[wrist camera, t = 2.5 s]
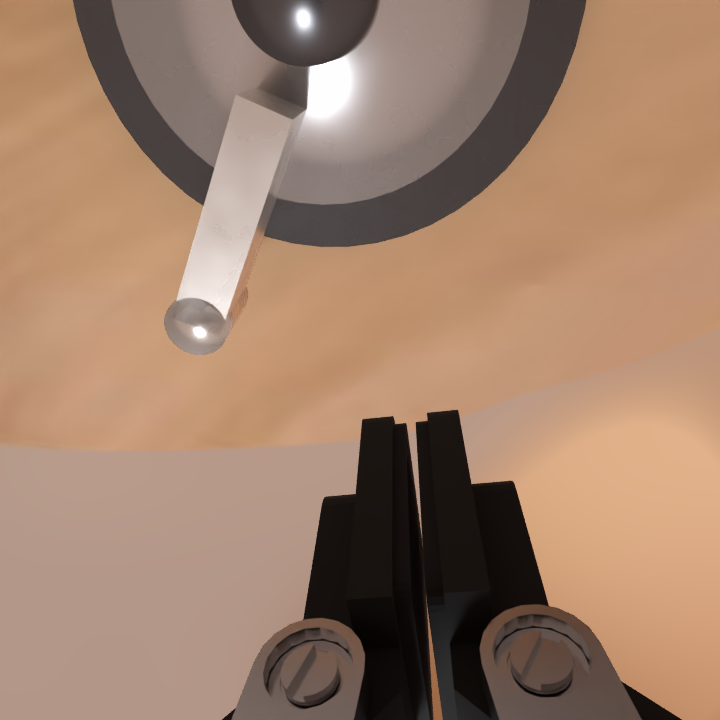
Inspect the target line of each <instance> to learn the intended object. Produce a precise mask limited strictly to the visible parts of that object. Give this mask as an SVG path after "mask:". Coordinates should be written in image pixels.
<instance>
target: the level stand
mask: <svg viewBox="0 0 720 720" xmlns="http://www.w3.org/2000/svg"><path fill="white" fill-rule="evenodd" d="M73 2H74V7H75V12H76V17H77V22H78V25H79V28H80V31H81V34H82V37H83V40H84V44H85V47H86V50H87V53H88V56H89V59H90V61H91V63H92V66H93V68H94V70H95V72H96V75H97V77H98V79H99V81H100V84H101V86H102V88H103V91H104V92H105V94H106V96H107V98H108V99H109V101H110V103H111V105H112V106H113V108H114V110H115V112H116V113H117V115H118V117H119V119H120V120H121V122H122V123H123V125H124V126H125V128H126V129H127V130H128V132H129V133H130V134H131V136H132V137H133V139H134V140H135V141H136V143H137V144H138V145H139V147H140V148H141V149H142V151H143V152H144V153H145V154H146V155H147V156H148V157H149V158H150V159H151V161H152V162H153V163H154V164H155V165H156V166H157V167H158V168H159V169H160V170H161V172H162V173H163V174H164V175H166V176H167V177H168V178H169V179H170V180H171V181H172V182H173V183H175V184H176V185H177V186H178V187H179V188H180V189H181V190H183V191H184V192H185V193H186V194H187V195H189V196H190V197H191V198H193V199H194V200H196V201H197V202H199V203H200V204H202V205H203V206H204V203H205V199H206V196H207V192H208V189H209V185H210V182H211V179H212V175H213V172H214V167H212V166H211V165H209V164H208V163H207V162H206V161H204V160H203V159H202V158H201V157H200V156H198V155H197V154H196V153H195V152H194V151H193V150H191V149H190V148H189V147H188V146H187V145H186V144H185V143H184V142H183V141H182V140H181V138H180V137H179V136H178V135H177V134H176V133H175V132H174V131H173V130H172V129H171V128H170V127H169V125H168V124H167V123H166V121H165V120H164V119H163V117H162V116H161V115H160V113H159V112H158V111H157V109H156V108H155V107H154V105H153V104H152V102H151V100H150V98H149V97H148V95H147V93H146V92H145V90H144V88H143V87H142V85H141V83H140V82H139V80H138V78H137V75H136V73H135V71H134V69H133V67H132V64H131V62H130V60H129V58H128V56H127V54H126V51H125V48H124V45H123V42H122V39H121V36H120V33H119V30H118V27H117V24H116V19H115V15H114V10H113V6H112V1H111V0H73ZM585 4H586V0H530V3H529V9H528V15H527V21H526V25H525V29H524V32H523V36H522V39H521V43H520V46H519V50H518V53H517V56H516V58H515V61H514V63H513V65H512V68H511V70H510V73H509V75H508V77H507V80H506V82H505V84H504V86H503V87H502V89H501V91H500V93H499V95H498V96H497V98H496V100H495V102H494V104H493V105H492V107H491V109H490V110H489V111H488V113H487V114H486V116H485V117H484V118H483V120H482V121H481V123H480V124H479V125H478V127H477V128H476V129H475V131H474V132H473V133H472V134H471V135H470V136H469V137H468V138H467V139H466V140H465V142H464V143H463V144H462V145H461V146H460V147H459V148H458V149H457V150H456V151H455V152H454V153H453V154H451V155H450V156H449V157H448V158H447V159H445V160H444V161H443V162H442V163H441V164H440V165H438V166H437V167H436V168H434V169H433V170H431V171H430V172H428V173H427V174H425V175H424V176H422V177H420V178H419V179H417V180H416V181H414V182H412V183H410V184H408V185H406V186H404V187H401V188H399V189H397V190H395V191H393V192H390V193H387V194H384V195H381V196H378V197H375V198H372V199H368V200H362V201H357V202H352V203H345V204H326V205H321V204H308V203H298V202H293V201H289V200H284V199H279V198H277V199H276V202H275V205H274V208H273V211H272V213H271V216H270V219H269V222H268V225H267V228H266V231H265V234H264V236H266V237H270V238H274V239H278V240H282V241H286V242H290V243H295V244H303V245H311V246H319V247H349V246H357V245H364V244H372V243H378V242H382V241H386V240H389V239H393V238H397V237H401V236H404V235H407V234H409V233H412V232H414V231H417V230H419V229H422V228H424V227H426V226H429V225H431V224H433V223H435V222H437V221H438V220H440V219H442V218H444V217H446V216H447V215H449V214H451V213H453V212H454V211H456V210H458V209H459V208H461V207H462V206H463V205H465V204H466V203H467V202H469V201H470V200H471V199H473V198H474V197H475V196H477V195H478V194H480V193H481V192H482V191H483V190H484V189H485V188H487V187H488V186H489V185H490V184H491V183H492V182H493V181H494V180H495V179H496V178H497V177H498V176H499V175H500V174H501V173H502V172H503V171H504V170H506V168H507V167H508V166H509V165H510V164H511V162H512V161H513V160H514V159H515V158H516V156H517V155H518V154H519V153H520V152H521V150H522V149H523V148H524V147H525V146H526V144H527V143H528V142H529V140H530V138H531V137H532V135H533V134H534V132H535V131H536V129H537V128H538V126H539V125H540V123H541V122H542V120H543V119H544V117H545V116H546V114H547V112H548V110H549V108H550V106H551V104H552V102H553V100H554V98H555V96H556V94H557V92H558V90H559V88H560V86H561V84H562V82H563V79H564V76H565V74H566V71H567V68H568V66H569V63H570V60H571V57H572V55H573V52H574V49H575V47H576V43H577V39H578V34H579V30H580V26H581V22H582V18H583V14H584V10H585Z"/></svg>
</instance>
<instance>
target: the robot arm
mask: <svg viewBox="0 0 720 720" xmlns="http://www.w3.org/2000/svg"><path fill="white" fill-rule="evenodd" d="M427 417H428V421H423V422H416V436H417V453H418V470H419V488H420V503H421V522H422V535H421V529H420V521H419V513H418V506H417V500H416V499H417V498H416V491H415V484H414V476H413V469H412V461H411V454H410V446H409V439H408V431H407V425H406V423H403V424H395V421H394V417H393V416H391V417H381V418H371V419H363V420H362V429H361V440H360V452H359V464H358V474H357V486H356V494H353V495H341V496H328V497H325V498H324V499H323V503H322V508H321V514H320V520H319V526H318V532H317V539H316V545H315V551H314V557H313V564H312V570H311V576H310V582H309V588H308V594H307V601H306V607H305V613H304V619H303V620H302V621H299V622H296V623H293V624H290V625H288V626H287V627H285V628H283V629H282V630H280V631H279V632H277V633H275V634H274V635H273V636H272V638H270V639H269V640H268V641H267V642H266V643H265V644H264V645H263V647H262V649H261V650H260V652H259V654H258V656H257V657H256V659H255V661H254V663H253V666H252V668H251V671H250V673H249V676H248V679H247V681H246V684H245V686H244V689H243V691H242V694H241V696H240V699H239V702H238V704H237V707H236V708H235V709H234V710H233V711H232V712H231V713H229V714H228V715H227V716H226V717H225V718H223V719H222V720H433V705H432V688H431V673H430V672H431V671H430V654H429V638H428V620H427V606H428V614H429V621H430V629H431V636H432V643H433V650H434V657H435V665H436V672H437V679H438V687H439V694H440V701H441V708H442V716H443V720H681V719H680V718H678V717H677V716H675V715H674V714H672V713H670V712H669V711H667V710H666V709H664V708H662V707H661V706H659V705H658V704H656V703H655V702H653V701H652V700H650V699H648V698H647V697H645V696H644V695H642V694H640V693H639V692H637V691H636V690H634V689H632V688H631V687H629V686H628V685H626V684H625V683H623V682H622V681H621V680H620V678H619V676H618V675H617V673H616V671H615V669H614V667H613V665H612V663H611V661H610V660H609V658H608V656H607V654H606V652H605V650H604V648H603V647H602V645H601V643H600V641H599V640H598V639H597V637H596V636H595V634H594V633H593V632H592V630H591V629H590V628H589V627H588V626H587V625H586V624H584V623H583V622H582V621H581V620H579V619H578V618H577V617H575V616H574V615H572V614H570V613H567V612H565V611H563V610H561V609H558V608H555V607H550V606H549V605H548V602H547V598H546V594H545V591H544V587H543V583H542V580H541V576H540V573H539V569H538V566H537V562H536V559H535V555H534V551H533V548H532V544H531V541H530V537H529V534H528V530H527V527H526V523H525V519H524V516H523V512H522V509H521V505H520V501H519V498H518V494H517V491H516V488H515V485H514V482H513V481H504V482H492V483H480V484H471V479H470V474H469V468H468V463H467V457H466V452H465V446H464V441H463V435H462V429H461V424H460V418H459V413H458V410H451V411H441V412H431V413H427ZM422 537H423V538H422ZM422 539H423V544H422ZM426 597H427V602H426Z"/></svg>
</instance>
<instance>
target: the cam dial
mask: <svg viewBox="0 0 720 720" xmlns="http://www.w3.org/2000/svg"><path fill="white" fill-rule="evenodd" d="M111 1H112V6H113V10H114V15H115V19H116V24H117V27H118V30H119V33H120V36H121V39H122V42H123V45H124V48H125V51H126V54H127V56H128V58H129V60H130V62H131V64H132V67H133V69H134V71H135V73H136V75H137V78H138V80H139V82H140V83H141V85H142V87H143V88H144V90H145V92H146V93H147V95H148V97H149V98H150V100H151V102H152V104H153V105H154V107H155V108H156V109H157V111H158V112H159V113H160V115H161V116H162V117H163V119H164V120H165V121H166V123H167V124H168V125H169V127H170V128H171V129H172V130H173V131H174V132H175V133H176V134H177V135H178V136H179V137H180V138H181V140H182V141H183V142H184V143H185V144H186V145H187V146H188V147H189V148H190V149H191V150H193V151H194V152H195V153H196V154H197V155H198V156H200V157H201V158H202V159H203V160H204V161H206V162H207V163H208V164H209V165H211V166H212V167H214V172H213V175H212V179H211V182H210V185H209V189H208V192H207V196H206V199H205V203H204V206H203V210H202V213H201V217H200V220H199V224H198V227H197V230H196V234H195V237H194V241H193V244H192V248H191V251H190V255H189V258H188V262H187V265H186V269H185V272H184V276H183V279H182V282H181V286H180V289H179V293H178V296H177V299H176V300H175V301H174V302H173V303H172V305H171V306H170V307H169V308H168V310H167V312H166V315H165V319H164V324H165V330H166V332H167V335H168V336H169V338H170V340H171V341H172V342H173V343H174V344H175V345H176V346H177V347H179V348H180V349H181V350H183V351H185V352H188V353H191V354H195V355H206V354H210V353H213V352H215V351H216V350H218V349H219V348H220V347H221V346H222V345H223V343H224V342H225V340H226V338H227V336H228V335H229V333H230V331H231V329H232V328H233V326H234V324H235V323H236V321H237V319H238V317H239V316H240V314H241V312H242V310H243V309H244V307H245V305H246V303H247V299H248V290H247V287H246V286H247V283H248V280H249V277H250V274H251V271H252V268H253V266H254V263H255V260H256V257H257V254H258V251H259V248H260V245H261V242H262V239H263V237H264V234H265V231H266V228H267V225H268V222H269V219H270V216H271V213H272V211H273V208H274V205H275V202H276V199H277V198H279V199H284V200H289V201H293V202H298V203H308V204H321V205H326V204H345V203H352V202H357V201H362V200H368V199H372V198H375V197H378V196H381V195H384V194H387V193H390V192H393V191H395V190H397V189H399V188H401V187H404V186H406V185H408V184H410V183H412V182H414V181H416V180H417V179H419V178H420V177H422V176H424V175H425V174H427V173H428V172H430V171H431V170H433V169H434V168H436V167H437V166H438V165H440V164H441V163H442V162H443V161H444V160H445V159H447V158H448V157H449V156H450V155H451V154H453V153H454V152H455V151H456V150H457V149H458V148H459V147H460V146H461V145H462V144H463V143H464V142H465V140H466V139H467V138H468V137H469V136H470V135H471V134H472V133H473V132H474V131H475V129H476V128H477V127H478V125H479V124H480V123H481V121H482V120H483V118H484V117H485V116H486V114H487V113H488V111H489V110H490V109H491V107H492V105H493V104H494V102H495V100H496V98H497V96H498V95H499V93H500V91H501V89H502V87H503V86H504V84H505V82H506V80H507V77H508V75H509V73H510V70H511V68H512V65H513V63H514V61H515V58H516V56H517V53H518V50H519V46H520V43H521V39H522V36H523V32H524V29H525V25H526V21H527V15H528V9H529V3H530V0H111Z"/></svg>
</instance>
